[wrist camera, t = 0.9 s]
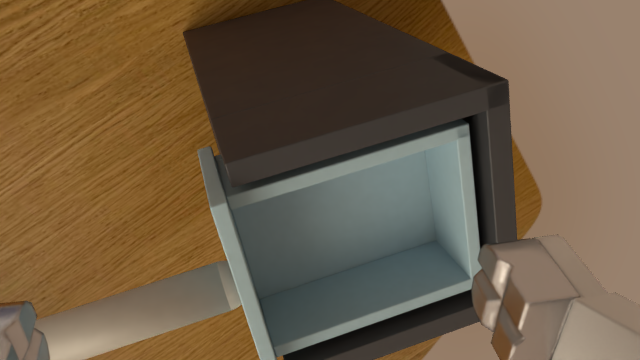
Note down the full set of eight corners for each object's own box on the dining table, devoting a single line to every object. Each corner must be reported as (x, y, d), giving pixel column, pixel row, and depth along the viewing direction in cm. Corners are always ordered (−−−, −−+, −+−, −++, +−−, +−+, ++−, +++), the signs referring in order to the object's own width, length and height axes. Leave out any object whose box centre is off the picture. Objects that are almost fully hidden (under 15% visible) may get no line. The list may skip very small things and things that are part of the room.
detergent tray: (-47, 219, 23) (-98, 301, 18) (423, 83, 26) (486, 122, 22) (45, 382, 27) (24, 484, 23) (443, 248, 31) (501, 312, 26)
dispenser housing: (182, 32, 43) (224, 163, 20) (323, -5, 45) (509, 79, 22) (223, 164, 48) (293, 389, 25) (349, 126, 50) (521, 306, 27)
